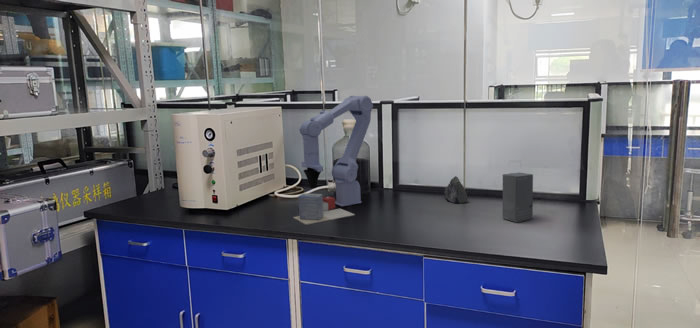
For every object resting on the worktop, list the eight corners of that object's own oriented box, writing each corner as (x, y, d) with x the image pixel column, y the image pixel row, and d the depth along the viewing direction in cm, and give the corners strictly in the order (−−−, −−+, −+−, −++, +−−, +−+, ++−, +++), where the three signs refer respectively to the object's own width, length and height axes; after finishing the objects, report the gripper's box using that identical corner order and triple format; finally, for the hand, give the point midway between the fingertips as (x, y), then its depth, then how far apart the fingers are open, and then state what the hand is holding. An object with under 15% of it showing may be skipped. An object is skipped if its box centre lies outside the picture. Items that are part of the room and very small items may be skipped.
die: (329, 206, 196) (328, 195, 195) (335, 207, 193) (334, 196, 192) (321, 208, 194) (320, 197, 193) (327, 209, 191) (326, 198, 190)
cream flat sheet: (340, 209, 191) (340, 208, 191) (354, 215, 182) (354, 214, 182) (292, 217, 181) (292, 217, 181) (305, 224, 172) (305, 224, 172)
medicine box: (324, 217, 180) (323, 193, 178) (319, 220, 175) (318, 196, 174) (304, 215, 182) (303, 193, 181) (299, 219, 178) (297, 195, 177)
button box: (319, 206, 196) (318, 199, 195) (328, 210, 189) (328, 203, 188) (300, 210, 192) (300, 202, 191) (309, 214, 185) (309, 206, 184)
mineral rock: (446, 195, 206) (446, 172, 205) (472, 197, 202) (472, 173, 200) (438, 203, 195) (438, 178, 193) (466, 204, 191) (466, 179, 189)
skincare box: (515, 223, 164) (516, 176, 162) (500, 218, 171) (500, 173, 168) (534, 219, 168) (535, 173, 165) (518, 214, 174) (519, 170, 172)
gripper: (293, 151, 191) (295, 185, 193) (310, 155, 178) (312, 192, 181) (310, 149, 194) (312, 183, 196) (327, 153, 182) (329, 189, 184)
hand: (313, 187), depth 189 cm, fingers closed
